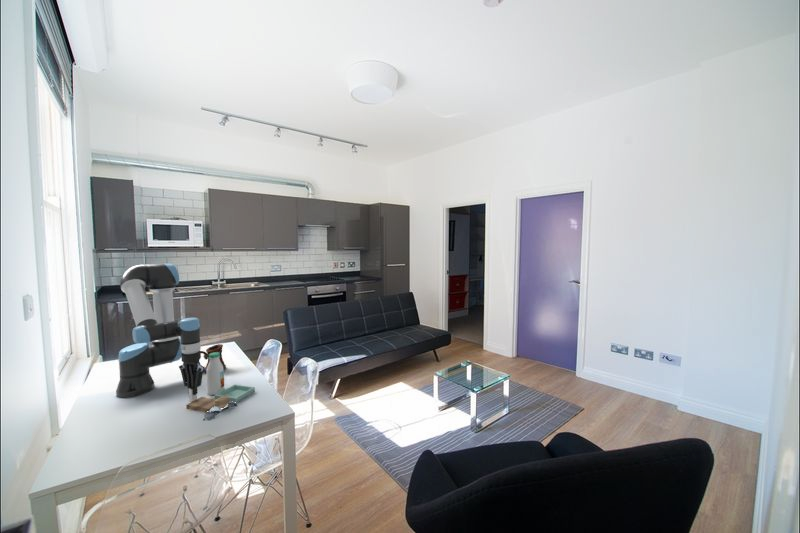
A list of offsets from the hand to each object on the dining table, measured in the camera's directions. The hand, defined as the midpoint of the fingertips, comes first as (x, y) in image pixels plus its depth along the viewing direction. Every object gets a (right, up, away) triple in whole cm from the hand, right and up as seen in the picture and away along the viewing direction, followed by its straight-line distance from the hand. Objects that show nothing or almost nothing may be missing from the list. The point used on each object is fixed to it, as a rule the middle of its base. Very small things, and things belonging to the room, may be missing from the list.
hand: (193, 400), depth 148 cm
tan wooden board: (+7, -2, -2) cm, 8 cm away
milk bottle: (+3, -1, +13) cm, 13 cm away
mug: (-16, 0, +39) cm, 42 cm away
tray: (+15, -1, +8) cm, 18 cm away
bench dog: (+16, -2, -4) cm, 17 cm away
